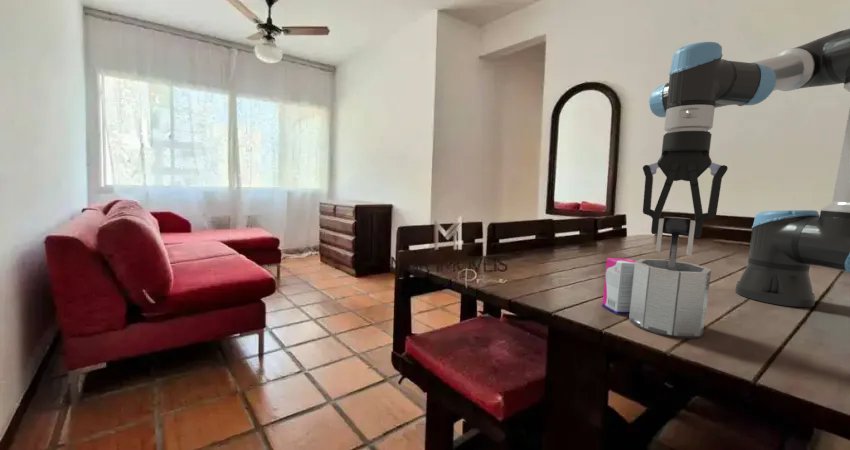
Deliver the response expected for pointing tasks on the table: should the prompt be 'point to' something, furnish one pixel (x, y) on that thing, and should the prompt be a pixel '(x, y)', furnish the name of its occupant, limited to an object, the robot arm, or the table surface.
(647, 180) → the robot arm
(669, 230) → the plunger
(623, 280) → the supplement box
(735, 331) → the table surface
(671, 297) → the press body
